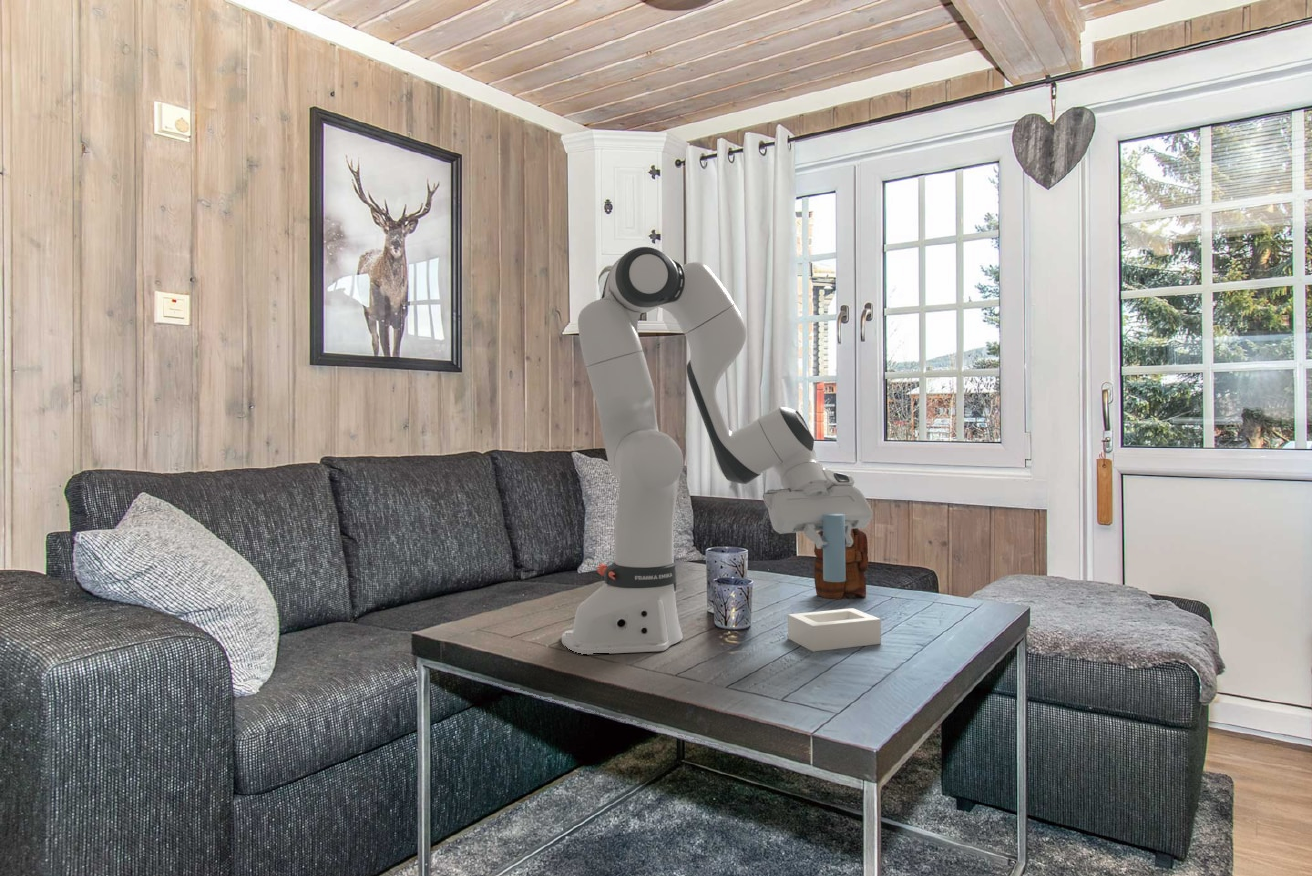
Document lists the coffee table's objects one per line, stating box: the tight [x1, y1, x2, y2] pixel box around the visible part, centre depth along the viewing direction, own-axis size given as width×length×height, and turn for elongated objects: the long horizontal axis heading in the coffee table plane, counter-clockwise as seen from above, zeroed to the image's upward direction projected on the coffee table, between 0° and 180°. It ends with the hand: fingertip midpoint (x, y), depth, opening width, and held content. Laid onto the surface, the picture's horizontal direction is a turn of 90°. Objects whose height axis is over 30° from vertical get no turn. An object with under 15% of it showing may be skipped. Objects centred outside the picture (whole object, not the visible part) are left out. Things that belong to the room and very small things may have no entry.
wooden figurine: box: [813, 528, 869, 600], centre depth 182 cm, size 12×6×18 cm, turn 97°
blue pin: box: [823, 514, 846, 582], centre depth 144 cm, size 4×4×12 cm
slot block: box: [787, 607, 882, 653], centre depth 144 cm, size 14×9×4 cm, turn 109°
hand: (836, 545), depth 143 cm, fingers closed on blue pin, 4 cm apart
